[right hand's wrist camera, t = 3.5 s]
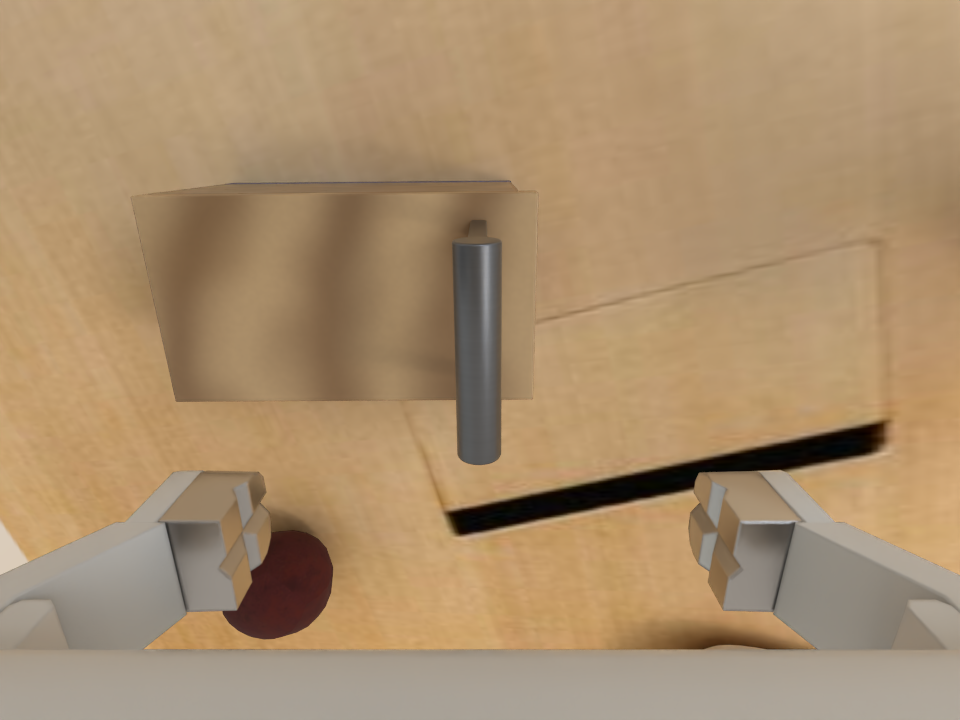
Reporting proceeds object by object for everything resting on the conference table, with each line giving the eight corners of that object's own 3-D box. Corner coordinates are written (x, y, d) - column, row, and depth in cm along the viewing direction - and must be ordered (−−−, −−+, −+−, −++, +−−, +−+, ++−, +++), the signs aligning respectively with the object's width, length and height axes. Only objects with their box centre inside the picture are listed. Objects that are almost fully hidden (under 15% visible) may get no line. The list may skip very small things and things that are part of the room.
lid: (536, 190, 25) (563, 209, 17) (531, 390, 28) (551, 489, 20) (144, 194, 25) (-23, 215, 17) (187, 392, 28) (65, 491, 20)
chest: (510, 180, 33) (519, 190, 25) (508, 334, 37) (516, 390, 28) (231, 183, 34) (145, 193, 25) (255, 336, 37) (187, 392, 28)
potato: (226, 549, 43) (180, 622, 36) (291, 491, 41) (254, 556, 34) (299, 604, 45) (268, 682, 38) (364, 550, 43) (342, 622, 36)
